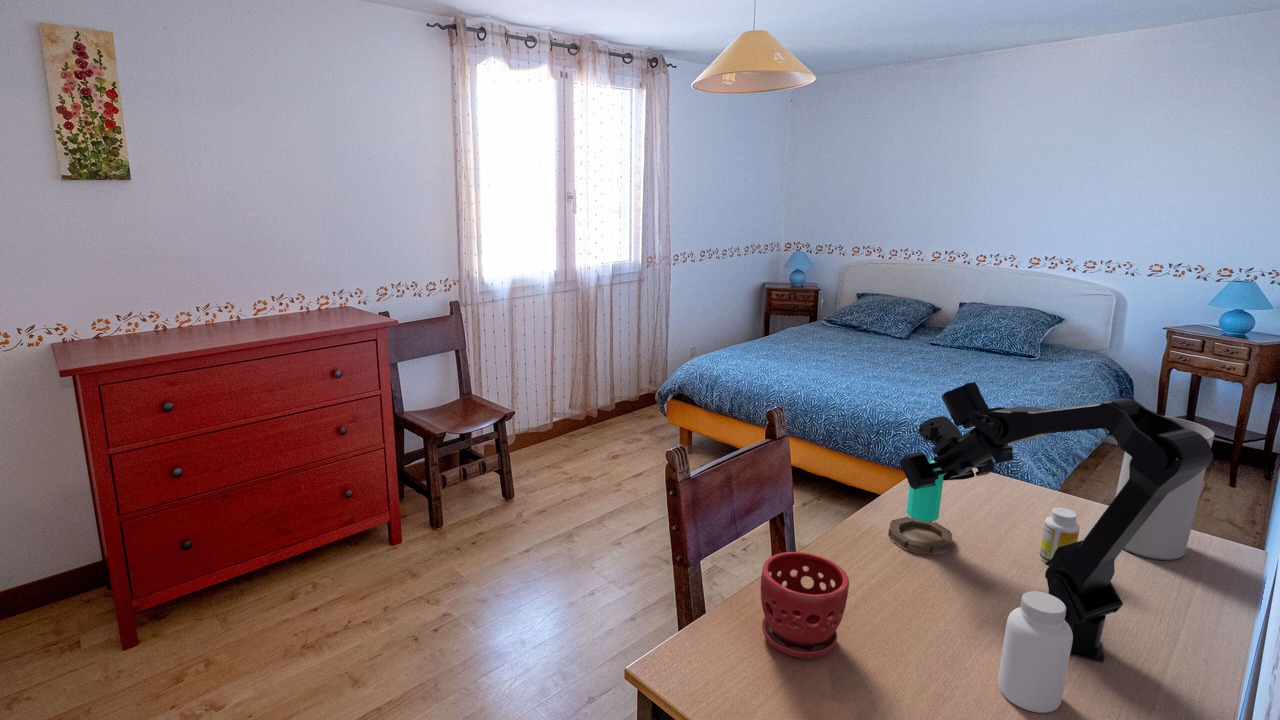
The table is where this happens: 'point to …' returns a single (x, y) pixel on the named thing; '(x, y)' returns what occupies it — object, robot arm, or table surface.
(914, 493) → the candle
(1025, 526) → the table surface
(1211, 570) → the table surface
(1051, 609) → the pill bottle
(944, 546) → the ring seat
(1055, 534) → the supplement bottle
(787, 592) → the plant pot
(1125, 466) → the cylinder vase
